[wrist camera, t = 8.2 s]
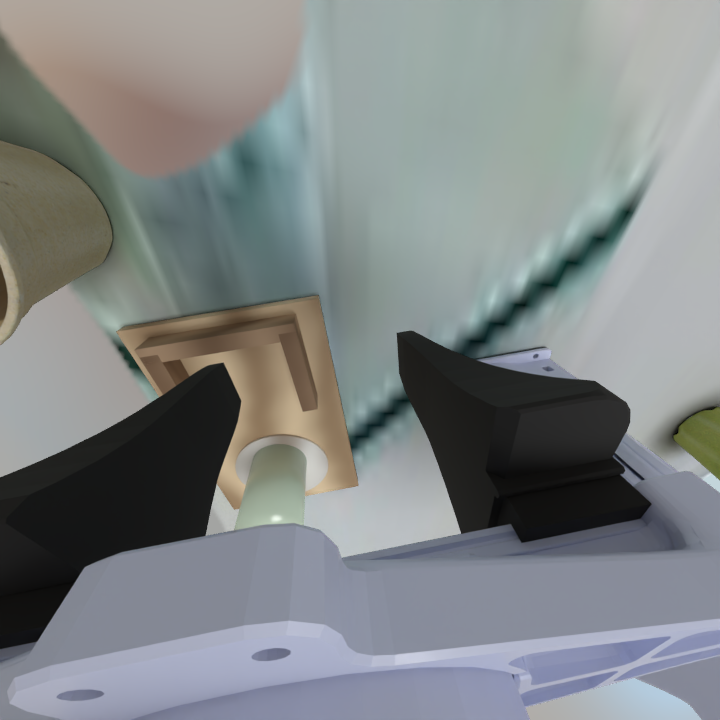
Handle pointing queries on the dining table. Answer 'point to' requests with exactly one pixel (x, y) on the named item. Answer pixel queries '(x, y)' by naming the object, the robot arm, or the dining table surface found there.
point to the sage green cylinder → (274, 488)
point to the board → (260, 384)
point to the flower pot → (43, 231)
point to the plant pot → (702, 438)
